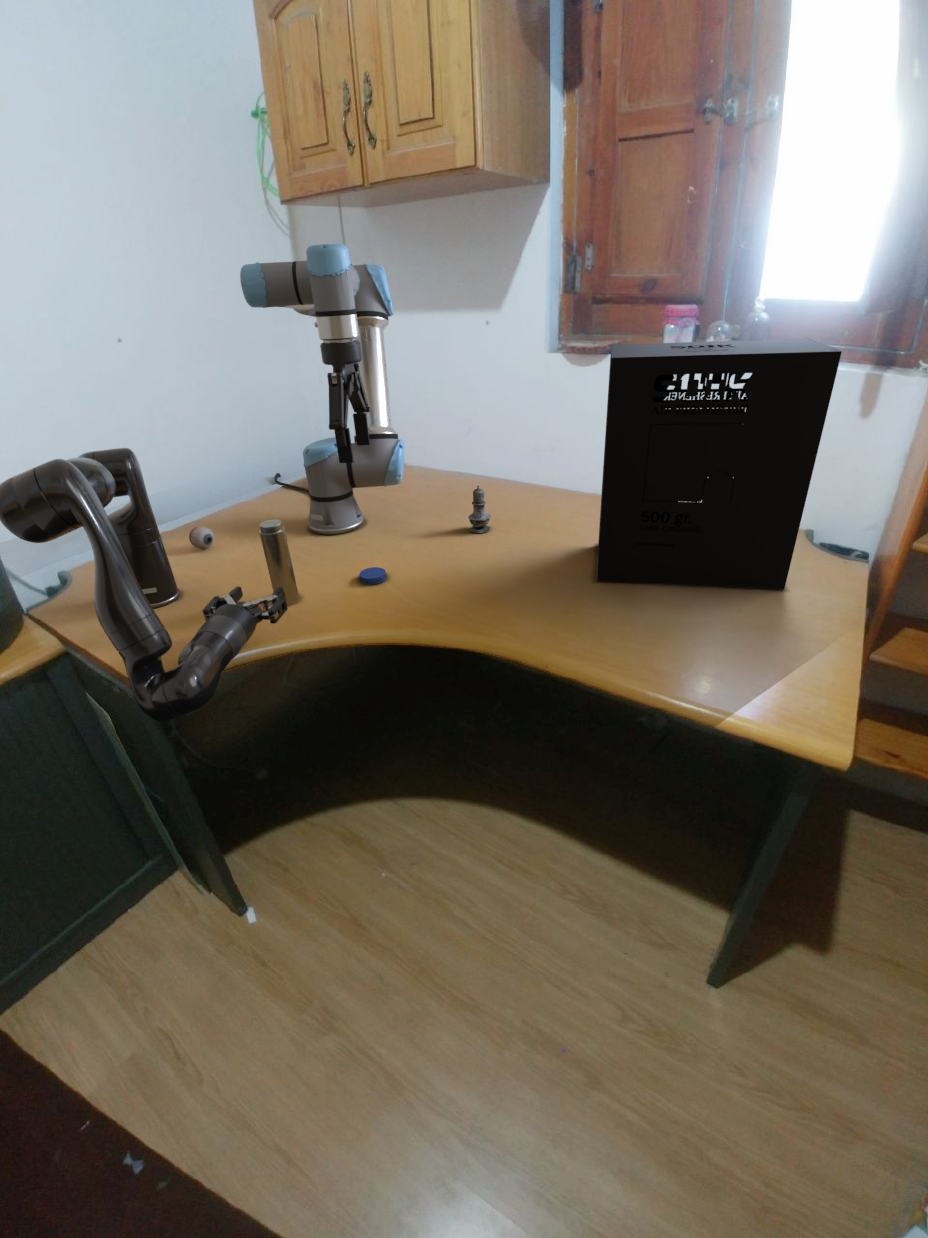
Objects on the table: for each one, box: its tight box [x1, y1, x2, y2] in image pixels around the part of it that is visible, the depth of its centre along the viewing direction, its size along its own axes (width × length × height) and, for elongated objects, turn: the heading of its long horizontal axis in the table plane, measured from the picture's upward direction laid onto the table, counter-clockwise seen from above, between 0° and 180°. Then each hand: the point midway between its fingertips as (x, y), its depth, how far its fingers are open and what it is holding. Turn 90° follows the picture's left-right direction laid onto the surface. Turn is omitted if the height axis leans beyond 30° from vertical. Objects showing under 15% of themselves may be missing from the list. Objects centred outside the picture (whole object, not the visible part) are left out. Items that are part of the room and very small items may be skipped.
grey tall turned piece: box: [467, 485, 491, 534], centre depth 158 cm, size 6×6×12 cm
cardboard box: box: [596, 337, 842, 591], centre depth 125 cm, size 38×20×45 cm, turn 78°
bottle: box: [258, 519, 300, 606], centre depth 127 cm, size 5×5×18 cm
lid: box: [358, 566, 387, 586], centre depth 138 cm, size 6×6×2 cm
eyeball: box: [188, 525, 215, 550], centre depth 158 cm, size 6×6×6 cm
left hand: (260, 590), depth 118 cm, fingers open, 8 cm apart
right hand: (355, 453), depth 124 cm, fingers open, 13 cm apart
